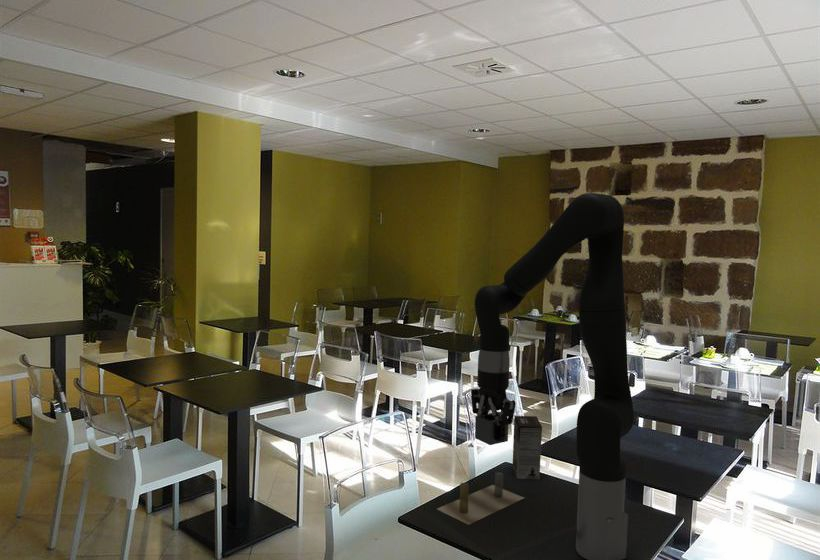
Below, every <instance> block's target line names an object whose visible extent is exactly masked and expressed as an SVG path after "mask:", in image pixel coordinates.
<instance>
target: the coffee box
mask: <svg viewBox="0 0 820 560" xmlns="http://www.w3.org/2000/svg"><path fill="white" fill-rule="evenodd" d="M542 433H543V426H542V423H540V421H539V419H538V417H537V416H536V415H514V416H513V439H512V440H513V443H512V445H513V446H512V469H513V471H514V474H515V477H516V479H518V480H519V479H521V480H541V479H540V477H541V458H542V456H541V455H542V437H543V435H542Z"/></svg>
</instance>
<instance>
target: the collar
mask: <svg viewBox="0 0 820 560" xmlns="http://www.w3.org/2000/svg"><path fill="white" fill-rule="evenodd" d="M499 417H500V420H502V419H501V416H500V415H499ZM507 419H508V417H507ZM474 429H475V430H474V439H476V440H478V441H480V442H482V443H485V444H487V445H489V446H492V445H497V444H501V443H506V442H508V441H509V425H506V426H505V438H504V440H502V441H497V440H496V421H495V417H494V416H493V415H492V412H491V413H488V414H484V415H479V416H477V415H476V416H475V428H474Z"/></svg>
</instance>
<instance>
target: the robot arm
mask: <svg viewBox="0 0 820 560" xmlns="http://www.w3.org/2000/svg"><path fill="white" fill-rule="evenodd" d="M624 228H625V213H624V209H623V206H622V205H621V203H620V201H619V200H618V199H617V197H614V196H612V195H609V194H604V193H597V192H586V193H582V194H580V195H578V196H576V197H575V198H574V199H573V200H572V201H571V202H570V203H569V204H568V206H566V208H565V209H564V210H563V211H562V213H561V214H560V215H559V217H558V218H557V220H556V221H554V223H553V224H552V226H551V227H550V228H549V229H548V230H547V231H546V233H544V235H543V236H542V237H541V238H540V239H539V240H538V241H537V242H536V243H535V244H534V245H533V246H532V248H530V249H529V250H528V251H527V252H525V254H524V255H522V257H520V258H519V259H518V260H517V261H516V262H514V264H513V265H512V266H510V267H509V268H508V269H507V270H506V271H505V273H504V275H503V282H502V283H500V284H495V285H493V284H492V285H484V286H481V288H479V289H478V291H477V292H476V294H475V297H474V311H475V315H476V322H477V324H478V328H479V329H478V330H479V348H478V349H479V351H478V357H477V382H476V383H477V387H478V388H473V389H470V396H471V412H472V413H473V414H476V416H479V415H484V414H489V412H490V411H491V413H492V415H493V416H494V417H495V421H496V440H497V441H502V440H504V438H505V426H506V425H508V426H509V425H512V424H513V423H514V416H515V409H516V404H517V403H516V400H514V399H512V400H510V399H508V397H507V394H506V393H507V390H508V388H510V387H509V386H510V360H511V359H510V329H509V327H508V326H506V325H505V324H502V323H501V318H500V315H505V314H509V313H510V312H513V310H514V309H516V308H517V307H518V306H519V305H520V304H521V303H522V301H523V300H524V299H525V297H526V296H527V294H529V292H531V291H532V290H533V289H534V288H535V287H537V286H538V285H539V284H540V283H541V282H543V281H544V280H545V279H546V278H547V277H548V276H549V275H550V274H551V272H553V270H554V268H555V267H556V266H557V263H558V262H559V260H561V258H562V257H563V256H564V255H565V254H566V253H567V252H568V251H569V250H570V249H572V248H573V247H574V246H576V245H578V244H579V243H581V242H583V241H585V240H586V239H587V246H588V247H587V249H588V265H587V270H586V275H585V277H584V280H583V284H582V286H581V287H582V288H581V290H580V295H579V299H578V317H579V318H578V319H579V332H580V335H581V336H580V337H581V341H582V343H583V346H584V347H585V351H586V353H587V355H588V357H589V360H590V363H591V366H592V370H593V377H594V392H593V393H594V396H593V398H592V399H590V400H588V401H586V402H585V403H583V404H582V405H581V406H580V408H579V411H578V413H577V417H576V418H577V419H576V456H577V459H578V464H579V471H578V472H579V473H578V491H577V492H578V493H577V509H576V510H577V513H576V533H575V534H576V537H575V550H576V553H577V554H578V555H579V556H580V557H581V558H583V559H586V560H624V559H626V558H627V546H628V543H627V540H628V527H629V526H628V525H629V514H628V513H627V512H625V497H626V496H625V495H626V478H627V477H626V476H627V464H626V462H625V460H624V459H623V458H622V457H621V439H622V438H624V437H625V436H626V435H627V434H629V433H630V431H631V430H632V427H633V426H634V423H635V413H634V412H635V411H634V404H633V399H632V394H631V393H632V392H631V388H630V387H631V386H630V379H629V371H628V369H629V368H628V343H627V318H626V303H625V289H624V287H625V286H624V284H625V283H624V271H623V270H624V269H623V247H624V232H625V230H624ZM499 415H500V416H501V419H502V420H500V417H499ZM507 418H508V419H507Z"/></svg>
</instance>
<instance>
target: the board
mask: <svg viewBox="0 0 820 560" xmlns="http://www.w3.org/2000/svg"><path fill="white" fill-rule="evenodd" d="M469 491H470V484H469V483H468V482H461V483H460V486H459V499H456V500H454V501H452V502H449V503H447V504H445V505H442V506H440V507H438V508H436V510H438V511H439V512H441V513H443V514H445V515H448V516H449V517H452V518H454V519H455V520H457V521H460V522H461V523H464V524H466V525H472V524H474V523H475V522H477V521H479V520H482V519H484V518H486V517H488V516H490V515H492V514H494V513H496V512H499V511H500V510H503V509H504V508H507V507H509V506H512V505H513V504H516V503H517V502H519V501H522V500H523V499H525V497H524V496H521V495H520V494H519V495H518V494H517V493H514V492H511V491H510V490H506V489H504V473H503V472H495V473H494V484H491V485H489V486H486V487H484V488H482V489H479V490H477V491H475V492H472V493H470V492H469Z"/></svg>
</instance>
